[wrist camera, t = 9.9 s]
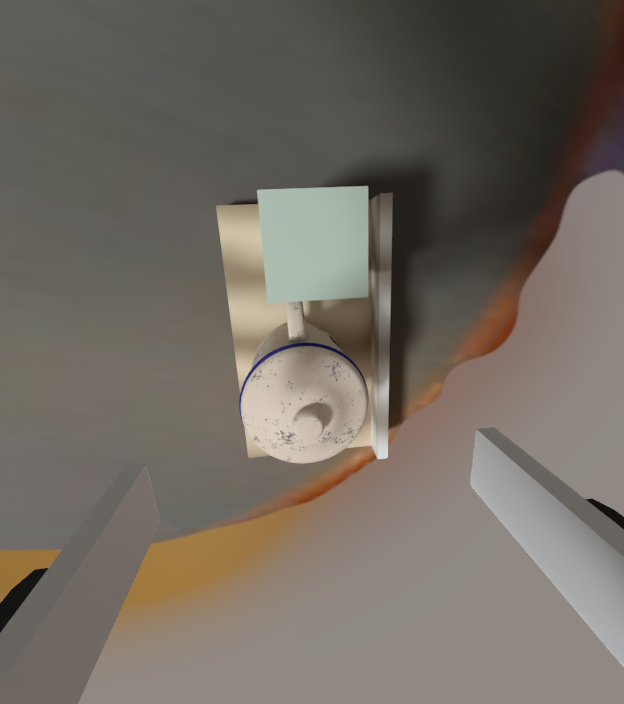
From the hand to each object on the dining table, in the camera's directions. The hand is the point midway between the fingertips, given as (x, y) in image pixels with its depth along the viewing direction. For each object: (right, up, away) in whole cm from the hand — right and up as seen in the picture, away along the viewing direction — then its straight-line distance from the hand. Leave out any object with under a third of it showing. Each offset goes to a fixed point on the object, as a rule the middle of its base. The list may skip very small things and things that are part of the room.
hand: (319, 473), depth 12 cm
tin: (-1, +14, +15) cm, 20 cm away
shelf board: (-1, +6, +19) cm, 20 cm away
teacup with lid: (-2, +5, +17) cm, 18 cm away
